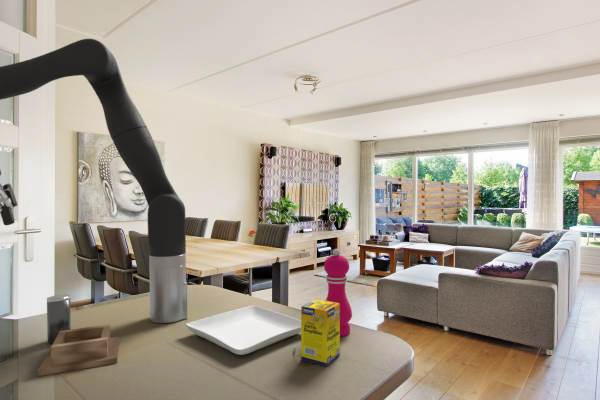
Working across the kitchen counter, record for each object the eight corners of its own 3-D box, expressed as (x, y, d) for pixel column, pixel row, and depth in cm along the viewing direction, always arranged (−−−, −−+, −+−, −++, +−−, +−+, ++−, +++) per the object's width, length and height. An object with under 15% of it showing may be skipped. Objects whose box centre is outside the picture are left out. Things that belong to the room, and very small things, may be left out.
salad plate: (311, 335, 88) (311, 321, 88) (239, 366, 72) (239, 348, 72) (253, 316, 102) (253, 303, 102) (183, 338, 87) (183, 323, 87)
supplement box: (327, 367, 71) (326, 310, 71) (300, 360, 74) (300, 305, 74) (340, 356, 76) (340, 302, 76) (315, 349, 79) (315, 298, 79)
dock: (119, 341, 84) (119, 321, 84) (117, 362, 73) (116, 340, 73) (51, 351, 79) (51, 330, 79) (38, 376, 68) (37, 351, 68)
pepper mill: (354, 328, 91) (354, 247, 91) (348, 339, 84) (348, 251, 84) (326, 325, 94) (325, 246, 93) (318, 335, 87) (317, 250, 86)
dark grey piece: (72, 335, 88) (71, 293, 87) (69, 342, 83) (68, 298, 83) (49, 339, 86) (49, 295, 86) (45, 346, 82) (44, 301, 81)
